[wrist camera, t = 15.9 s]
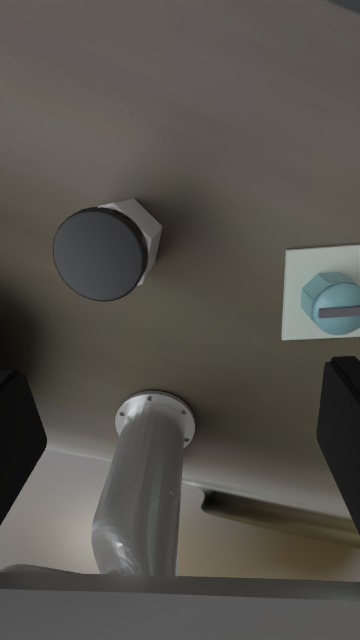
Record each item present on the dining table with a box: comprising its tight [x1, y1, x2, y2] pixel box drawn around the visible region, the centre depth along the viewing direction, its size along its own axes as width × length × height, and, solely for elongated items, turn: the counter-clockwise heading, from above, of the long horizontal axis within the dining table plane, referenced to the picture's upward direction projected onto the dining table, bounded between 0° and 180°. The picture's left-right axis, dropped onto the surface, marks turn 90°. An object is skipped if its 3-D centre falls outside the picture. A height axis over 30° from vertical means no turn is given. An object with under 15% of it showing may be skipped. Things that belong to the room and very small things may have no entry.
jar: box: [53, 199, 162, 301], centre depth 32 cm, size 9×8×12 cm
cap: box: [301, 272, 360, 335], centre depth 36 cm, size 6×6×6 cm
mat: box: [281, 244, 360, 340], centre depth 39 cm, size 12×10×1 cm
